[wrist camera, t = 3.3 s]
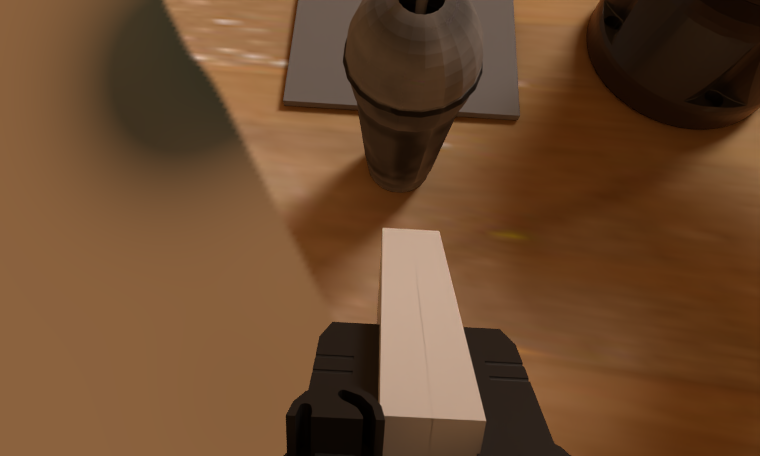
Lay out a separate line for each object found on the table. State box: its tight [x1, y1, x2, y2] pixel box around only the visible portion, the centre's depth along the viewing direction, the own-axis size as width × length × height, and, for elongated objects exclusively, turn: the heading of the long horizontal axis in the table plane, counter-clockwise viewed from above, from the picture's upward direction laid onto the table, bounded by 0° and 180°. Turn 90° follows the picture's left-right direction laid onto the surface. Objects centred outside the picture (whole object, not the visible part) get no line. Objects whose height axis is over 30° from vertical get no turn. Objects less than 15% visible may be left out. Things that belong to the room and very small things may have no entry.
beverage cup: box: [343, 0, 483, 192], centre depth 26 cm, size 7×7×20 cm
